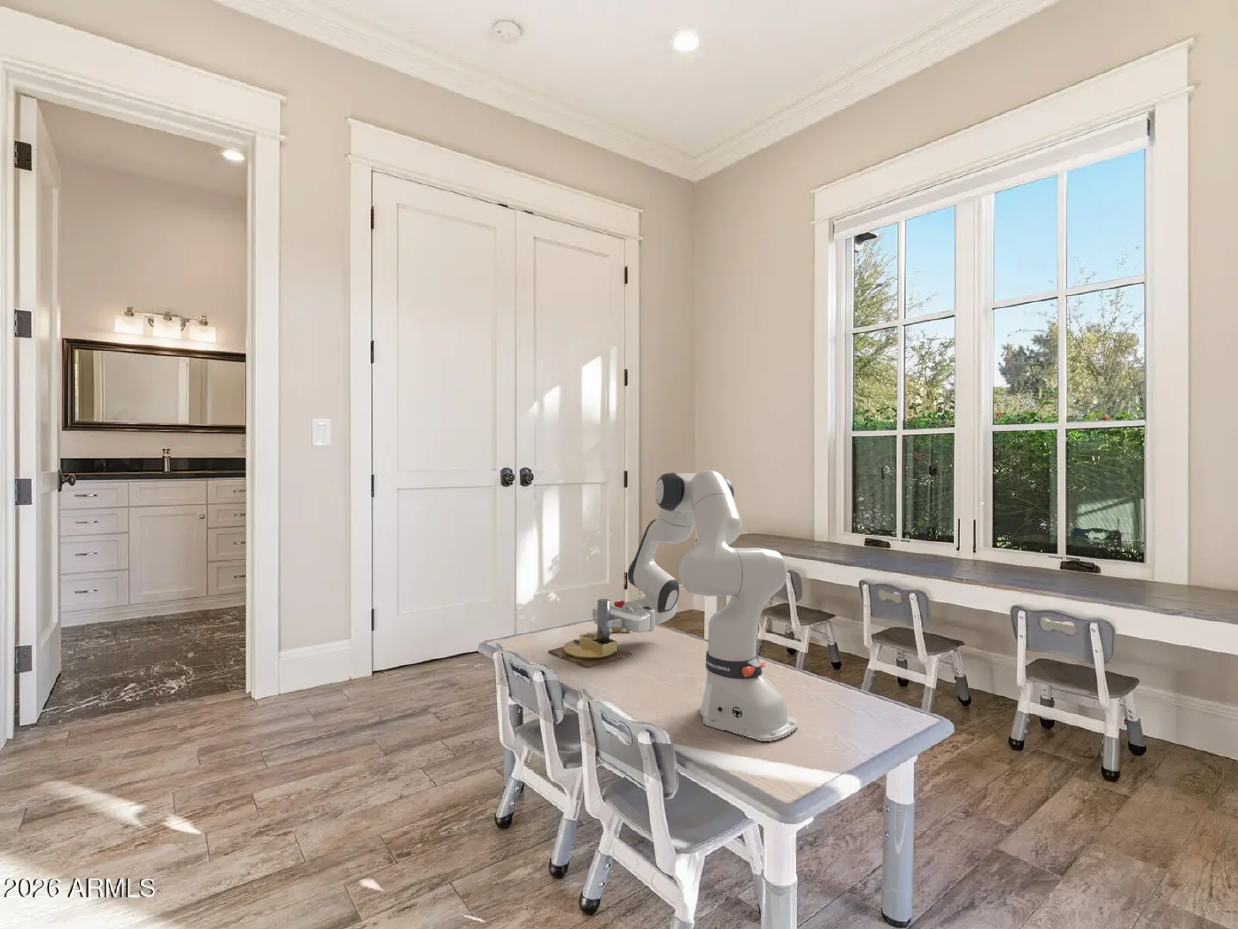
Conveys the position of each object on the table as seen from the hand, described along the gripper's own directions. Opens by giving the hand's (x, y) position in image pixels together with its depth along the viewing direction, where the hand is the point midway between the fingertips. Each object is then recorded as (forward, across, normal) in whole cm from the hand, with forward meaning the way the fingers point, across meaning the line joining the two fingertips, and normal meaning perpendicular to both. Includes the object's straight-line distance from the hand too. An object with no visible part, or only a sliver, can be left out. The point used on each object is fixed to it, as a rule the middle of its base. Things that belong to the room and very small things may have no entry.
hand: (601, 622), depth 184 cm
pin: (-1, 0, +8) cm, 8 cm away
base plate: (-1, -6, +11) cm, 12 cm away
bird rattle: (-24, -17, +11) cm, 31 cm away
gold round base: (-1, -6, +11) cm, 12 cm away
